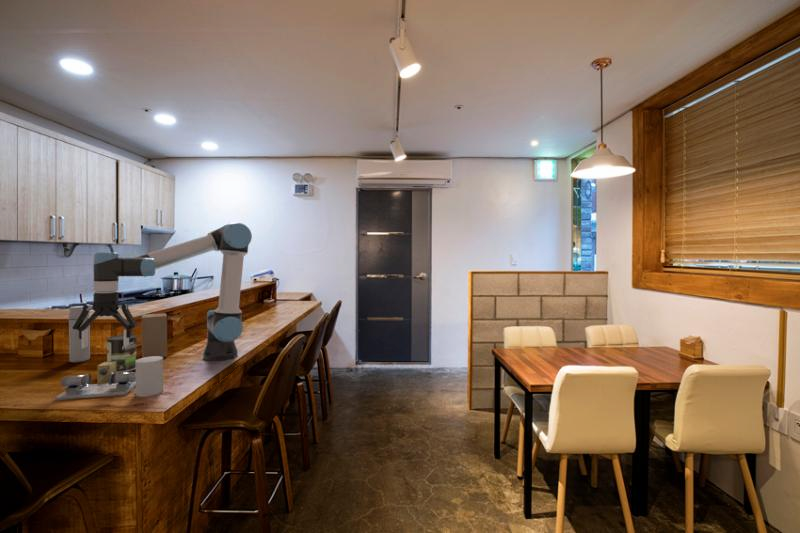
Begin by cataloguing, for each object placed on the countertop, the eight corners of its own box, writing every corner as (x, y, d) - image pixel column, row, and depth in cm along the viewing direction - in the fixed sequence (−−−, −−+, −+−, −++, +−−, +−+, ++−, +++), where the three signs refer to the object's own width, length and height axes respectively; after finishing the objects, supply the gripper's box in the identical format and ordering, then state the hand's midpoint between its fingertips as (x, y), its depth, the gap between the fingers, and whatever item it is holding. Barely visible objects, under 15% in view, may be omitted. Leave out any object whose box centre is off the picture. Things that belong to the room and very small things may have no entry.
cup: (166, 392, 131) (166, 359, 130) (139, 398, 125) (138, 364, 124) (159, 386, 136) (159, 354, 136) (133, 392, 130) (132, 359, 130)
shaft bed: (139, 384, 138) (139, 366, 138) (126, 394, 128) (126, 375, 128) (73, 388, 133) (73, 370, 133) (54, 400, 122) (53, 380, 122)
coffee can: (143, 367, 159) (142, 335, 159) (120, 374, 149) (120, 340, 149) (123, 365, 161) (123, 333, 161) (100, 372, 151) (100, 339, 151)
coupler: (104, 379, 143) (104, 361, 143) (116, 378, 144) (116, 361, 144) (97, 384, 138) (97, 365, 138) (109, 383, 139) (109, 365, 139)
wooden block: (166, 352, 184) (165, 313, 183) (167, 356, 176) (167, 315, 175) (141, 355, 178) (141, 314, 177) (141, 360, 170) (141, 317, 169)
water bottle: (92, 360, 167) (91, 306, 167) (69, 364, 162) (68, 308, 161) (89, 356, 174) (88, 304, 173) (67, 360, 168) (66, 306, 167)
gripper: (147, 291, 147) (146, 343, 147) (73, 291, 140) (72, 345, 141) (139, 292, 140) (138, 347, 140) (60, 293, 133) (60, 350, 134)
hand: (105, 346), depth 140 cm, fingers open, 13 cm apart
